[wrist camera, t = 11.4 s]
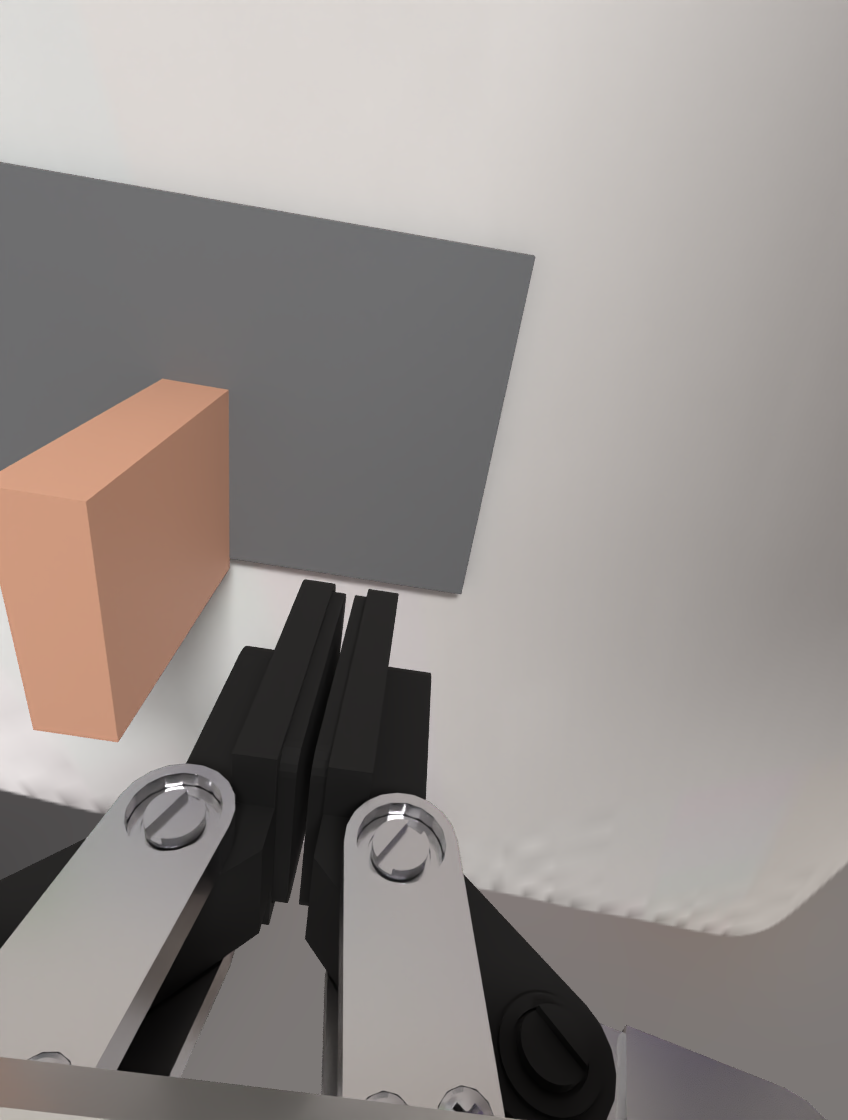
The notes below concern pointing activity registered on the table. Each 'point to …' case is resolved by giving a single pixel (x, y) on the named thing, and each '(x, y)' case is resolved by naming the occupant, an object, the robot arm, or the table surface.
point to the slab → (114, 553)
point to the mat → (271, 360)
